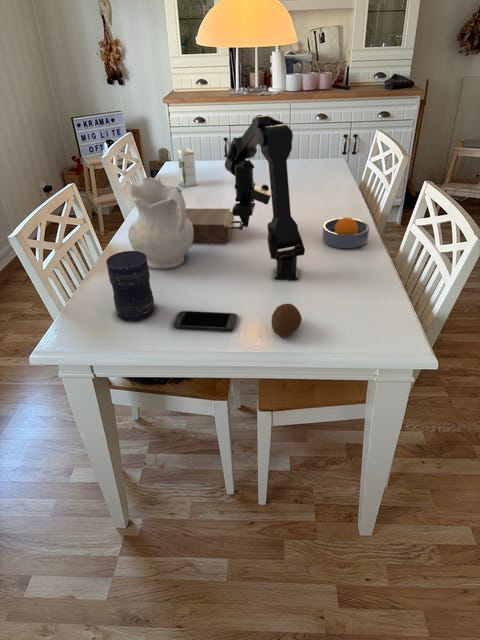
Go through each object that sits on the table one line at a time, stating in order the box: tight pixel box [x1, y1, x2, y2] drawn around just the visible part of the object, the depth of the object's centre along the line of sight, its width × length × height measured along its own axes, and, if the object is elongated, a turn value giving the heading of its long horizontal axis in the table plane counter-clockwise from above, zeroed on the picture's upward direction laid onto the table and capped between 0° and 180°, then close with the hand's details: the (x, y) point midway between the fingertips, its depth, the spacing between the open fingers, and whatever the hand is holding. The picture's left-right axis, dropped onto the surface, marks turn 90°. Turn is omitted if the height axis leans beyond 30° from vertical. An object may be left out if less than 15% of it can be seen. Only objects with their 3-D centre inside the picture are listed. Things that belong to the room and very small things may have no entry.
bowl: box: [322, 217, 370, 249], centre depth 155 cm, size 14×14×5 cm
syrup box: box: [177, 148, 197, 188], centre depth 209 cm, size 6×6×14 cm
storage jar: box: [105, 250, 156, 323], centre depth 121 cm, size 10×10×15 cm
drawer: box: [225, 211, 245, 241], centre depth 163 cm, size 22×13×5 cm, turn 83°
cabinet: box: [177, 208, 231, 245], centre depth 164 cm, size 19×15×7 cm
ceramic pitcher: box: [127, 176, 194, 270], centre depth 142 cm, size 22×20×25 cm
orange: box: [334, 217, 358, 235], centre depth 153 cm, size 7×7×7 cm
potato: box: [271, 302, 303, 338], centre depth 113 cm, size 7×10×7 cm
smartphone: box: [172, 310, 238, 332], centre depth 119 cm, size 7×15×1 cm, turn 81°
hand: (246, 226), depth 162 cm, fingers closed, pressing on drawer
